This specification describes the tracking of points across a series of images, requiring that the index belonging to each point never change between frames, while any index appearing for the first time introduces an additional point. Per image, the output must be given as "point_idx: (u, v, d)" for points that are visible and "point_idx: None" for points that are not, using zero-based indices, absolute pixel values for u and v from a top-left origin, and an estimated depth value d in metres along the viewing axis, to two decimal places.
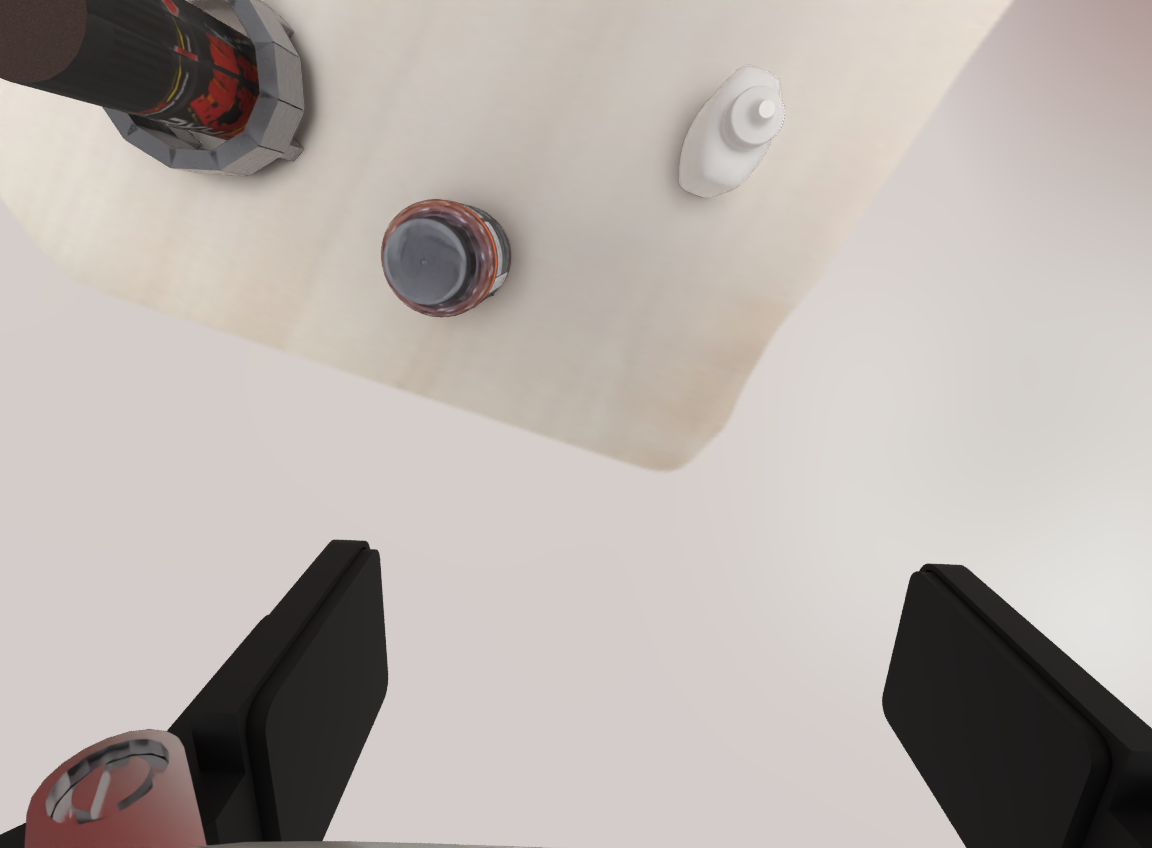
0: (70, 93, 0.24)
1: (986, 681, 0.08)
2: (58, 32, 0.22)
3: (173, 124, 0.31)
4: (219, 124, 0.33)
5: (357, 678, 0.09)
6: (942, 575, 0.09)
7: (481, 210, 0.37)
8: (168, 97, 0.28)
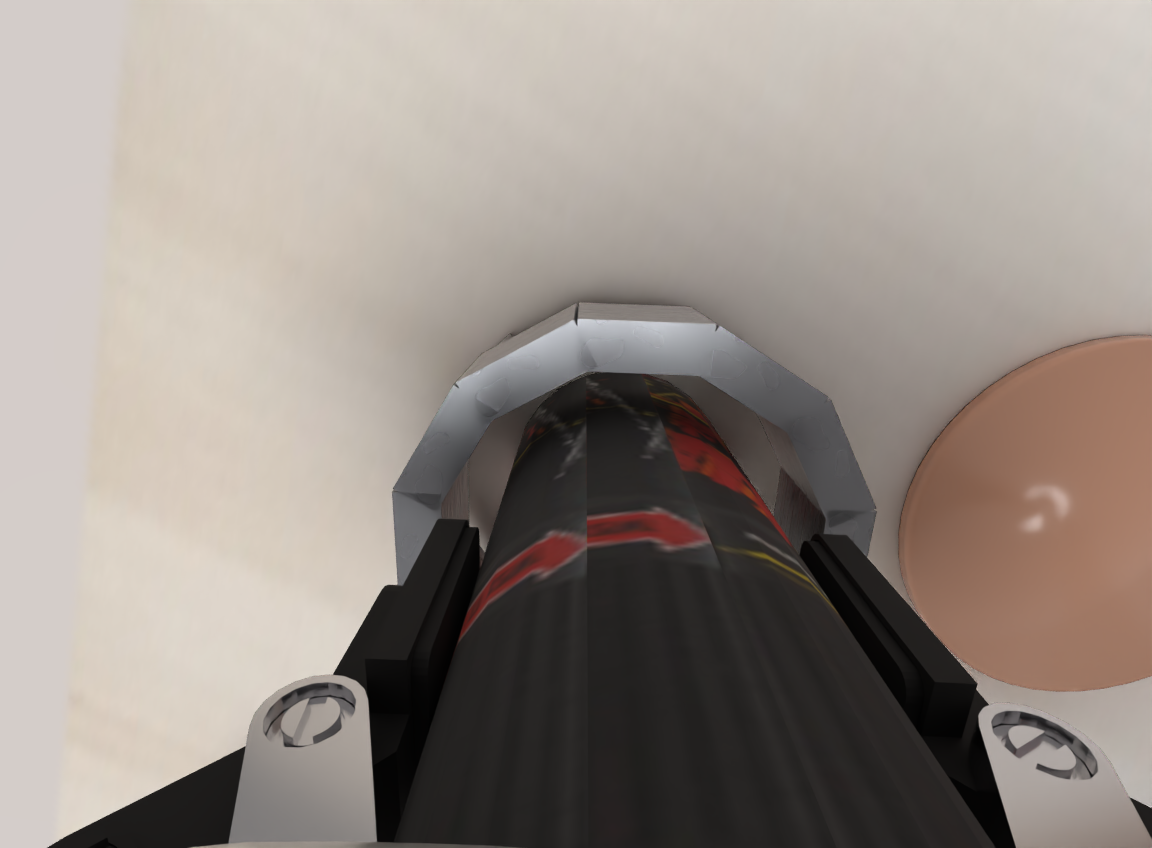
0: None
1: None
2: None
3: None
4: None
5: None
6: (825, 543, 0.10)
7: None
8: None
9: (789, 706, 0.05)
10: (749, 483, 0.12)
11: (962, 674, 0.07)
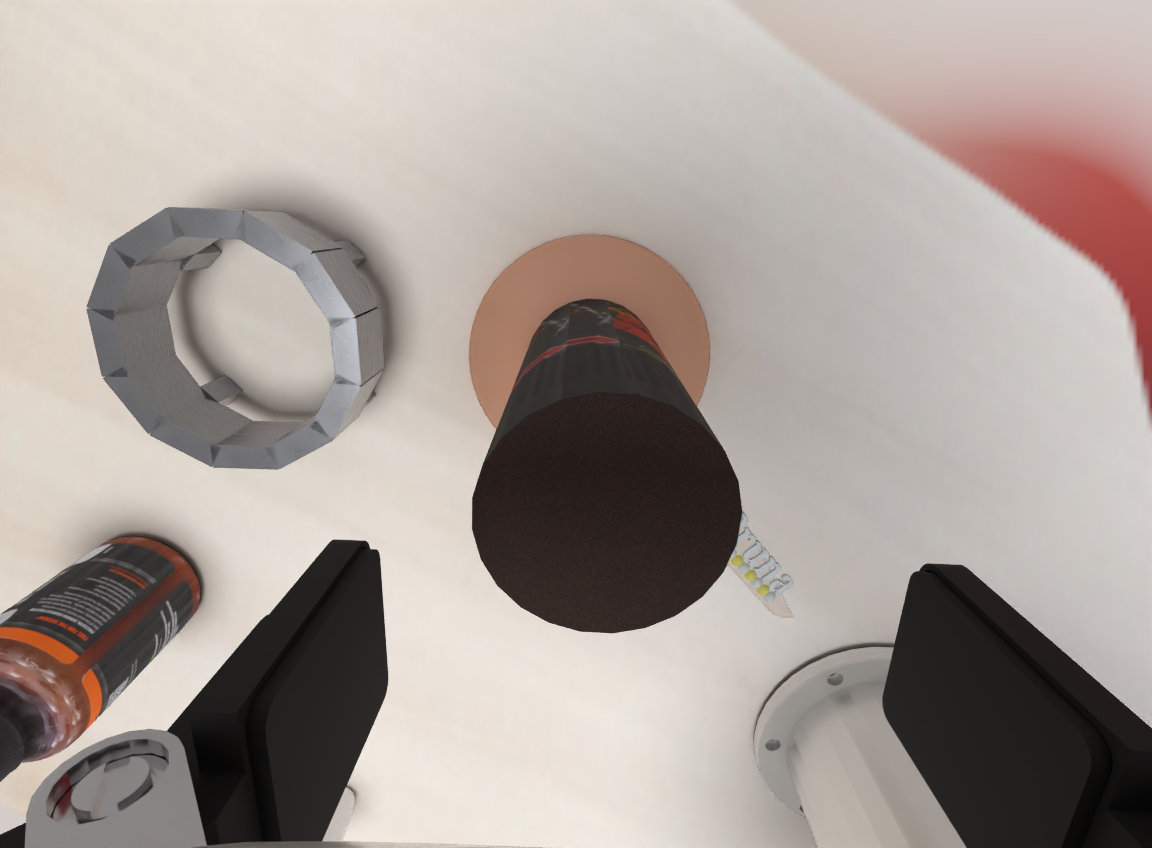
0: None
1: (986, 681, 0.08)
2: (549, 587, 0.14)
3: None
4: None
5: (357, 678, 0.09)
6: (942, 575, 0.09)
7: (188, 616, 0.31)
8: None
9: (630, 364, 0.15)
10: (658, 347, 0.22)
11: None
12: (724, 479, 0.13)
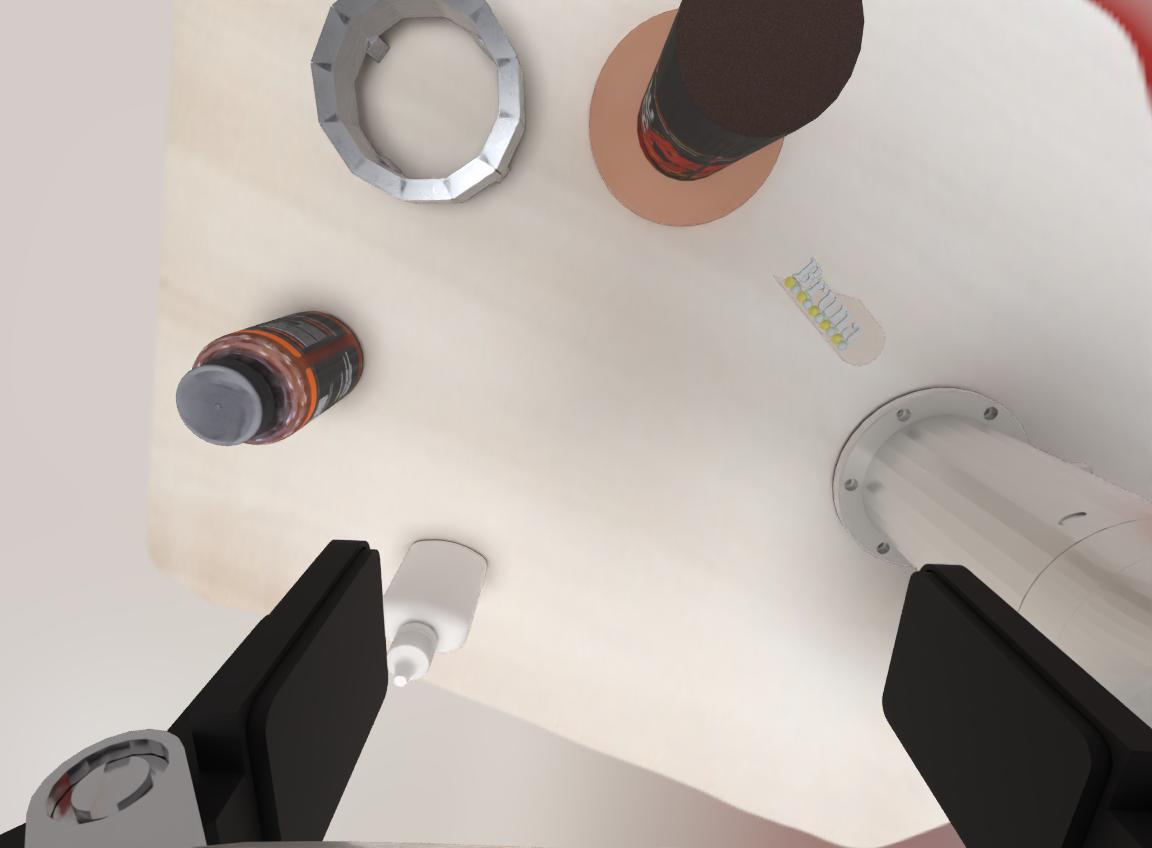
0: (668, 67, 0.21)
1: (986, 681, 0.08)
2: (728, 98, 0.19)
3: (648, 98, 0.27)
4: (651, 139, 0.29)
5: (357, 678, 0.09)
6: (942, 575, 0.09)
7: (356, 378, 0.37)
8: (673, 134, 0.25)
9: None
10: None
11: None
12: None
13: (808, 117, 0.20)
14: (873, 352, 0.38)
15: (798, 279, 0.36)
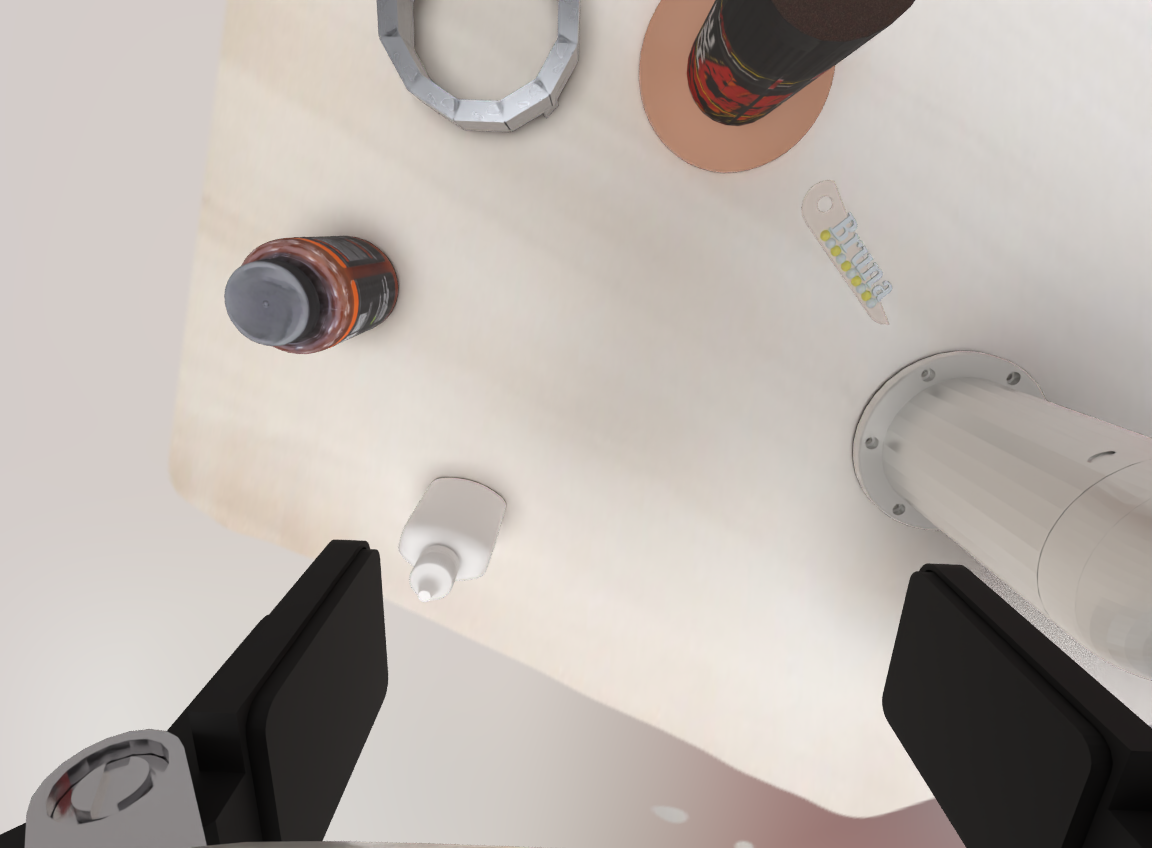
0: None
1: (986, 681, 0.08)
2: None
3: (708, 27, 0.28)
4: (705, 72, 0.30)
5: (357, 678, 0.09)
6: (942, 575, 0.09)
7: (391, 306, 0.38)
8: (735, 55, 0.25)
9: None
10: None
11: None
12: None
13: (882, 23, 0.20)
14: None
15: (834, 232, 0.37)
